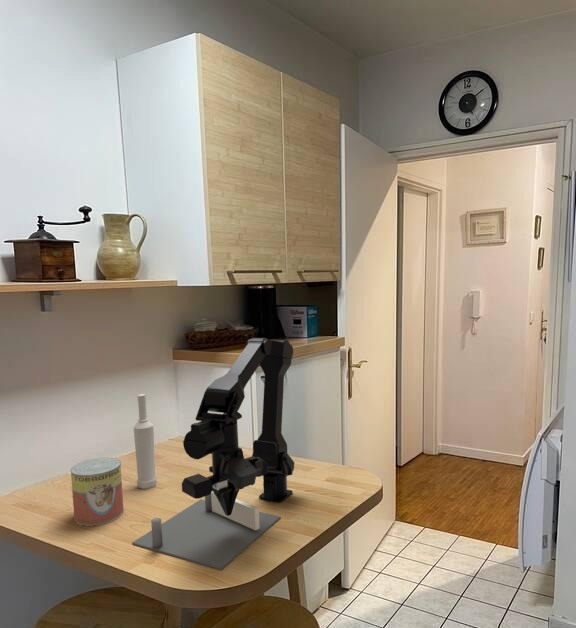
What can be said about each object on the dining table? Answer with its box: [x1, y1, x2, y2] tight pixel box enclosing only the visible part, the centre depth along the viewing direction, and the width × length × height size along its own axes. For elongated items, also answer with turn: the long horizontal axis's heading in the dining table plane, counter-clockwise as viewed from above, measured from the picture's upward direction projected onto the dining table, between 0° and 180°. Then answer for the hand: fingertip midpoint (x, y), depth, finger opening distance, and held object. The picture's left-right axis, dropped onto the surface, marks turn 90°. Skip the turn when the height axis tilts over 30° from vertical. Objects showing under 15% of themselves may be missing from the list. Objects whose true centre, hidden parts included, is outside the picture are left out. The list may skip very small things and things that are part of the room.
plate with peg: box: [131, 498, 282, 571], centre depth 112 cm, size 23×23×6 cm
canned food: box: [70, 457, 125, 527], centre depth 122 cm, size 11×11×12 cm
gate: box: [204, 491, 260, 530], centre depth 116 cm, size 18×2×5 cm, turn 47°
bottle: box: [133, 393, 157, 490], centre depth 138 cm, size 5×5×25 cm
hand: (228, 514), depth 110 cm, fingers closed
